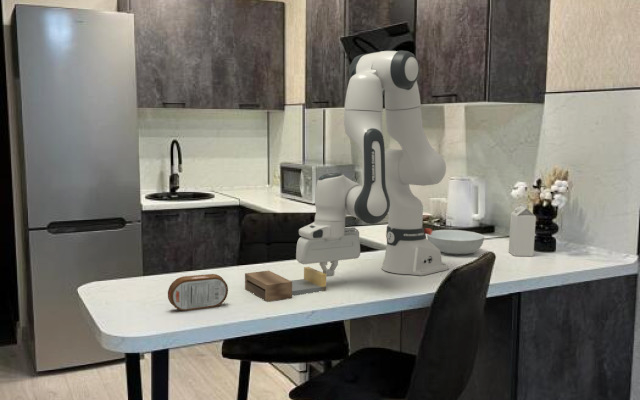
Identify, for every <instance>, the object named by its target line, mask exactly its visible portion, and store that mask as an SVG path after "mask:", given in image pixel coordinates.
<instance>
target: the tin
mask: <svg viewBox="0 0 640 400" xmlns="http://www.w3.org/2000/svg"><path fill="white" fill-rule="evenodd" d="M228 294H229V286H228V283H227V282H226V281H225V280H224V278H223V277H221V276H220V275H218V274H216V273H208V274H207V273H206V274H198V275H197V274H196V275H195V274H194V275H185V276H180V277H178V278H175V280H173V281H172V283H171V284H170V285H169V287H168V290H167V298H168V301H169V303H170V304H171V305H172V307H174V308H175V309H177V310H179V311H184V312H185V311H186V312H187V311H195V310H203V309H204V310H205V309H210V308H216V307H219V306H220V305H222V304H224V302H225V301H226V300H227V297H228Z"/></svg>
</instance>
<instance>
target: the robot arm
mask: <svg viewBox="0 0 640 400" xmlns="http://www.w3.org/2000/svg"><path fill="white" fill-rule="evenodd" d="M348 70H349V71H348V72H349V75H348V76H349V80H348V85H347V89H346V94H345V100H344V111H343V112H344V113H343V126H344V132H345V134H346V135H347V137H348V138H349V139H350V140H351V142H353V143H354V144H355V146H356V147H357V148H358V149H359V152H360V155H361V159H362V160H361V161H362V163H361V164H362V184H361V183H358V182H356V181H353V180H351V179H350V178H348V177H347V176H345V175H344V174H343V173H342V172H330V173H326V174H322V175H321V176H320V177H318V179H317V181H316V185H315V194H314V195H315V196H314V205H315V215H314V221H313V222H311V223H310V224H307V225H304V226H303V227H301V228H299V229H298V236H301V237H299V238H298V240H297V243H296V250H295V251H296V253H295V259H296V261H297V262H298V263H299V264H302V265H311V264H319V266H320V268H321V270H322V273H325V274H326V278H327V277H334V276H335V270H336V268H337V267H338V266H339V261H347V260H353V259H354V260H355V259H359V257H360V256H361V243H360V231H359V229H357V228H356V227H354V226H353V227H346V217H347V216H350V217H351V216H352V217H353V218H356V219H359V220H360V221H362V222H364V223H366V224H368V225H375V224H378V223H380V222H382V221H383V220H384V219H385V218H386V217H387V215H388V217H387V222H388V223H387V225H386V233H385V236H386V237H385V238H386V248H385V253H384V258H383V262H382V265H381V269H382V271H385V272H387V273H393V274H399V275H414V276H426V275H430V274H434V273H437V272H442V271H446V270H447V271H448V270H449V269H450V268H449V265H447V264H446V263H443V261H442V252H440V250H439V249H438V248H437V247H436V246H434V245H433V244H432V243H431V242H430V241H429V240H428V238H427V234H429V235H431V233H432V232H433V231H434V230H433V229H432V228H428V227H426V228H424V227H423V221H424V220H423V219H424V217H423V215H424V205H423V202H422V201H421V200H420V199H419V198H418V197H417V196H416V195H414V193H413V192H412V190H411V187H410V186H411V185H412V186H423V187H424V186H433V185H434V186H435V185H437V184H439V183H441V182H442V180H443V179H444V177H445V175H446V172H447V165H446V161H445V159H444V157H443V156H442V155H441V154H440V153H438V152H437V151H436V150H435V149H434V148H433V146H432V144H431V143H430V142H429V140H428V139H427V136H426V134H425V131H424V125H423V118H422V107H421V104H422V103H421V96H420V91H419V85H418V81H417V80H418V78H419V74H420V63H419V60H418V59H417V57H416V55H415V54H414V53H412V52H410V51H408V50H397V51H396V50H384V51H382V50H381V51H377V52H371V53H363V54H359V55H357V56H355V57H353V59H352V61H351V63H350V65H349V69H348ZM383 93H384V97H383ZM383 106H384V107H383ZM383 108H384V109H385V110H384V109H383ZM383 110H384V112H385V122H386V123H385V124H386V131H387V133H388V136H389V137H391V138H392V139H393V140H394V141H396V142H397V143H398V144H399V145H400V147H401V149H395V148H394V149H385V148H386V147H385V141H384V140H385V139H384V134H383ZM328 262H329V263H330V264H331V265H330V267H329V268H327V266H328Z"/></svg>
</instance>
